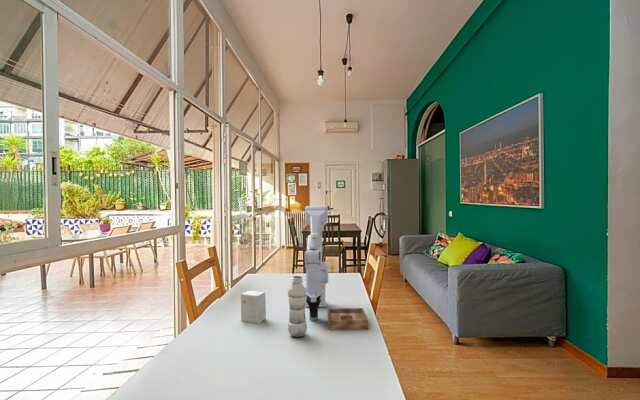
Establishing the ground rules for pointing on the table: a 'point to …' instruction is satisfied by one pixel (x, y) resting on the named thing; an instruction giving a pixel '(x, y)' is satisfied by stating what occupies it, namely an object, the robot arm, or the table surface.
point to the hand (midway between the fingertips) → (313, 315)
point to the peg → (313, 318)
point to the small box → (253, 306)
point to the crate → (347, 318)
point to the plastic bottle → (297, 308)
